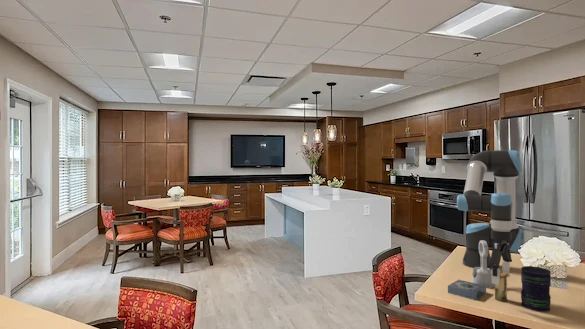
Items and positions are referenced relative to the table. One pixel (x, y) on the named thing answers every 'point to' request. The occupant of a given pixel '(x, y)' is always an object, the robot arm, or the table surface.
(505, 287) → the brass flared knob
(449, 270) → the table surface
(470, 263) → the robot arm
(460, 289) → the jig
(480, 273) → the engine component
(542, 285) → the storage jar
